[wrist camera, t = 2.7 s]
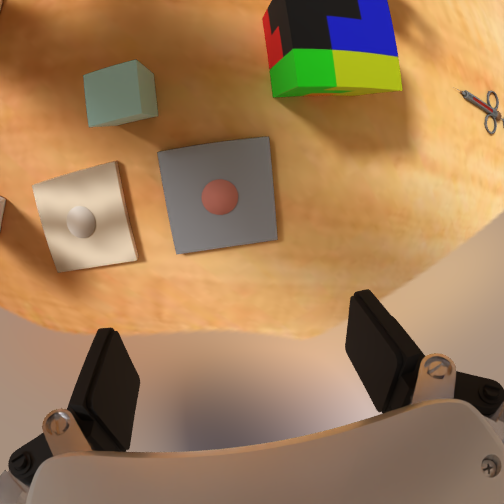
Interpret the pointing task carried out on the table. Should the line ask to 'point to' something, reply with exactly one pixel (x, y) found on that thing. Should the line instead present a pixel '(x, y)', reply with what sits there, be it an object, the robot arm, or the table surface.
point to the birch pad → (86, 218)
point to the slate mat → (219, 194)
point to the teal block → (120, 94)
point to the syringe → (485, 107)
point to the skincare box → (2, 208)
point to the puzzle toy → (331, 48)
